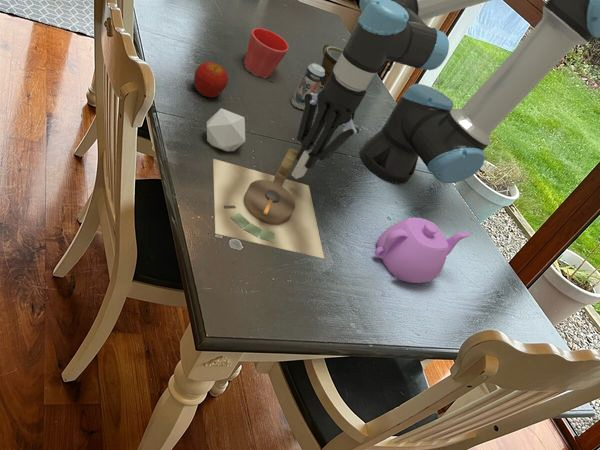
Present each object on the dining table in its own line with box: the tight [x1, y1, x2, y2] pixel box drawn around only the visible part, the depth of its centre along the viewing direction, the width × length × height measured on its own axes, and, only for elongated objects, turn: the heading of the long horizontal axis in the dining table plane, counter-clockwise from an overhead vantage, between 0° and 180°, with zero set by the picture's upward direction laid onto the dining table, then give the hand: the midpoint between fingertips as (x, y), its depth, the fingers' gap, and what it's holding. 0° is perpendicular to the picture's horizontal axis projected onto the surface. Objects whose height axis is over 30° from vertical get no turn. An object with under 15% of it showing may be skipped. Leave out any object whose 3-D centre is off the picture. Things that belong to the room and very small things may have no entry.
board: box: [212, 158, 325, 260], centre depth 115 cm, size 22×22×1 cm
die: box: [206, 107, 246, 152], centre depth 123 cm, size 8×9×10 cm
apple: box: [194, 61, 229, 98], centre depth 136 cm, size 8×8×8 cm
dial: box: [244, 148, 299, 224], centre depth 115 cm, size 18×10×7 cm, turn 169°
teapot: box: [374, 217, 471, 284], centre depth 120 cm, size 20×13×12 cm, turn 110°
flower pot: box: [243, 27, 290, 78], centre depth 156 cm, size 11×11×10 cm
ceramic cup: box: [321, 44, 344, 86], centre depth 169 cm, size 13×10×10 cm
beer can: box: [291, 62, 325, 111], centre depth 151 cm, size 5×5×12 cm
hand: (297, 175), depth 121 cm, fingers closed
